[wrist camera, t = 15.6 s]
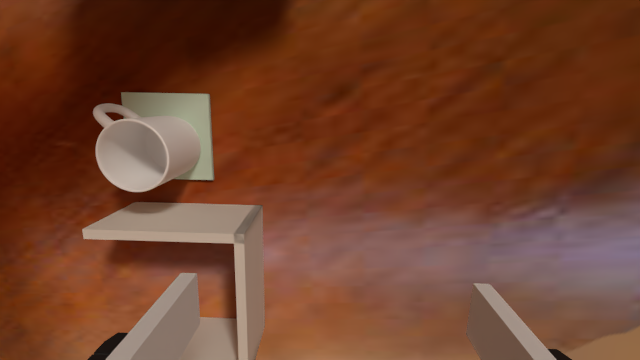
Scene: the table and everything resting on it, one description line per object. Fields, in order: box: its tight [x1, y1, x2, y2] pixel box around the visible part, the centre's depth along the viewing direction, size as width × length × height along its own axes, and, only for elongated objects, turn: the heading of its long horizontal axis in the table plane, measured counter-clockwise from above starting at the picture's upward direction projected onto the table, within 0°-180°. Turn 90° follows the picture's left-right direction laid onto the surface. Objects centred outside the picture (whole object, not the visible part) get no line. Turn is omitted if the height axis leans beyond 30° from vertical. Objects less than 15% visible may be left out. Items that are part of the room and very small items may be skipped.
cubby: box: [82, 202, 265, 360], centre depth 46 cm, size 20×19×11 cm
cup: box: [93, 103, 201, 192], centre depth 42 cm, size 8×12×10 cm
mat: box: [121, 92, 214, 180], centre depth 47 cm, size 12×12×1 cm
